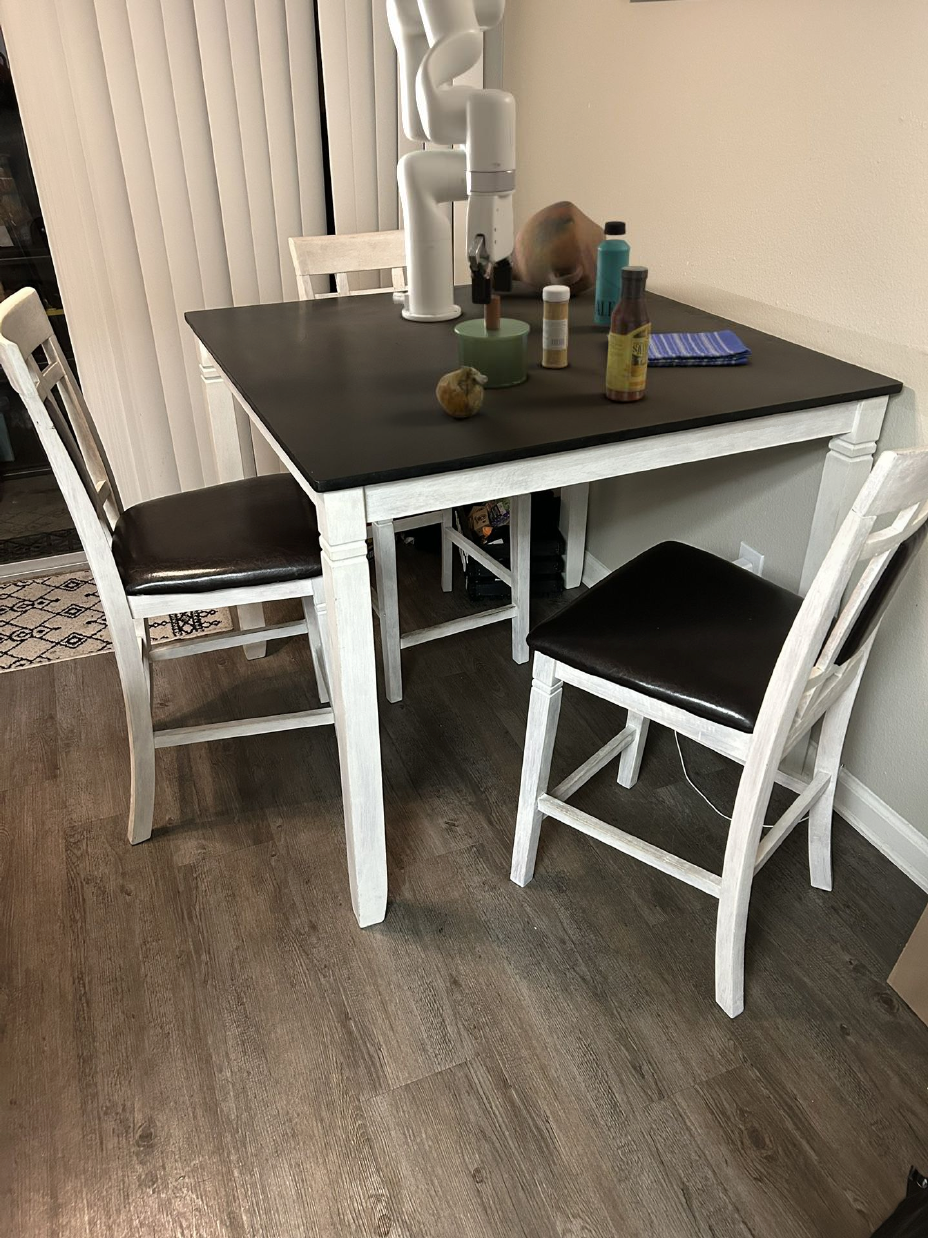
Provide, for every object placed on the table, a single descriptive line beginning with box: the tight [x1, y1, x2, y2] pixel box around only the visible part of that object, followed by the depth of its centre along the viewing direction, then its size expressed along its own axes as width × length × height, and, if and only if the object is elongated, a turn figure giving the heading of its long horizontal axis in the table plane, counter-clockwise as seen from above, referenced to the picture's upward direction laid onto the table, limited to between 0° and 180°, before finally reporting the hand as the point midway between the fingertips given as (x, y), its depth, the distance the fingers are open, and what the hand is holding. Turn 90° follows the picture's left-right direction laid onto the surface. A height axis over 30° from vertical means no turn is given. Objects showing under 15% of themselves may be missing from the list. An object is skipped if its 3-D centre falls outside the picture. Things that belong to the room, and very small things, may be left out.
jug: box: [483, 200, 608, 296], centre depth 205 cm, size 20×20×30 cm
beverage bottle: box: [593, 220, 631, 326], centre depth 178 cm, size 6×7×20 cm
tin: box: [457, 334, 528, 389], centre depth 156 cm, size 12×12×8 cm
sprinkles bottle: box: [541, 285, 571, 370], centre depth 160 cm, size 5×5×14 cm
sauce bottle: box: [605, 265, 652, 403], centre depth 143 cm, size 7×6×20 cm
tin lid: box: [454, 294, 531, 341], centre depth 153 cm, size 13×13×6 cm
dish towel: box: [607, 329, 753, 367], centre depth 168 cm, size 17×24×3 cm
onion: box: [435, 366, 488, 419], centre depth 141 cm, size 8×8×8 cm
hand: (492, 297), depth 151 cm, fingers open, 9 cm apart
